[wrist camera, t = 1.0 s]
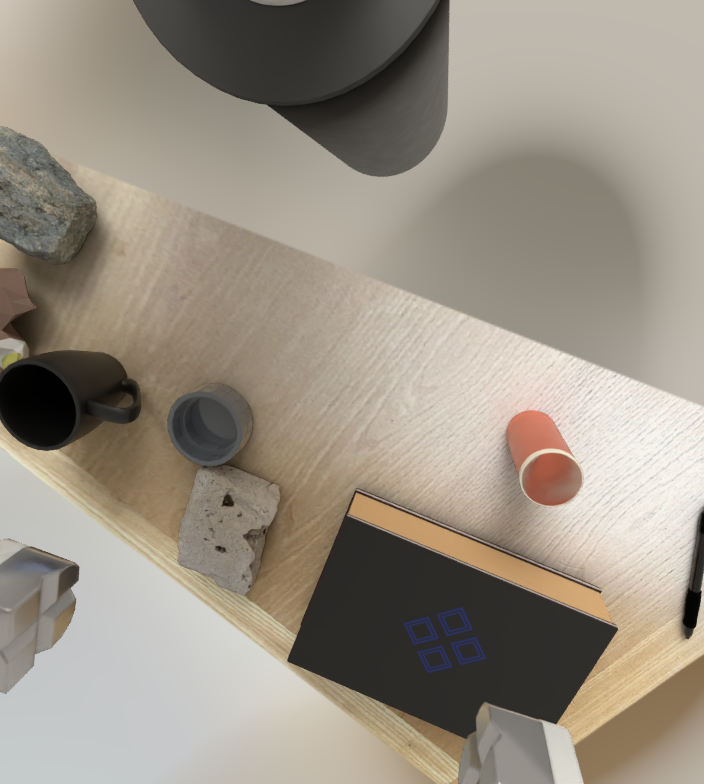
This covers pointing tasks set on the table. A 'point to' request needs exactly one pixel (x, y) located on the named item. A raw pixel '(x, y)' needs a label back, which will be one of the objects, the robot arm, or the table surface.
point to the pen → (695, 584)
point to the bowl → (210, 424)
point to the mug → (64, 397)
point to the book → (447, 621)
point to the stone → (227, 525)
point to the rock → (40, 201)
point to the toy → (12, 315)
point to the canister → (543, 460)
